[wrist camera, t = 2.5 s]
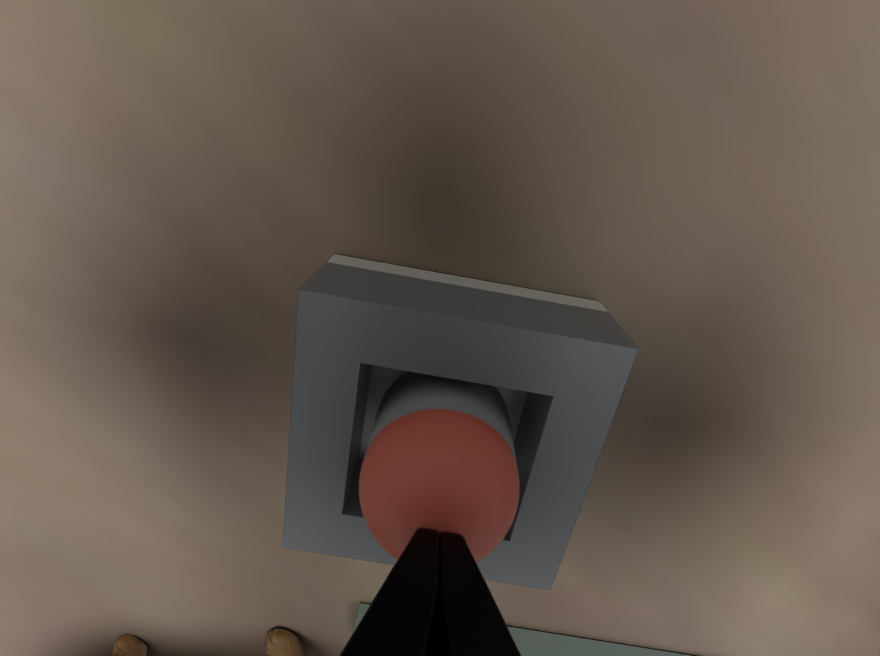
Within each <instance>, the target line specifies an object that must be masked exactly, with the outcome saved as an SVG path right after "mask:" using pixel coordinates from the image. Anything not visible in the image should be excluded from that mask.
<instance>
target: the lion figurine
mask: <svg viewBox="0 0 880 656" xmlns="http://www.w3.org/2000/svg"><path fill="white" fill-rule="evenodd" d="M265 651H266V653H267V655H268V656H303V652H302V648H301V645H300V642H299V640H298V638H297V637H296V635H294V634H293V633H291V632H289V631H287V630H283V629H274V630H272V631H270V632H269V633H268V634H267V636H266V640H265ZM146 653H147V646H146V645H145V644H144V643H143V642H142V641H140V640H139V639H138V638H136V637H135V636H133V635H123V636H121V637H120V638H119V639H118V640H117V641H116V642H115V643H114V648H113V653H112V656H146Z"/></svg>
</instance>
